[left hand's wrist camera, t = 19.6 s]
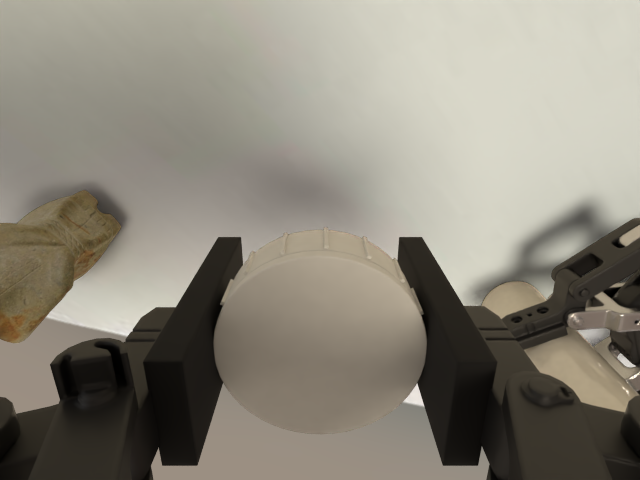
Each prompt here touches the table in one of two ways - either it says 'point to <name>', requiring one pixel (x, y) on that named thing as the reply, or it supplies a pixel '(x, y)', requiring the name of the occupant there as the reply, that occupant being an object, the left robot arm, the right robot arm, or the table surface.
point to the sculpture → (48, 259)
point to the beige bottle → (565, 353)
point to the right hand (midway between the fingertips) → (509, 371)
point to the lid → (320, 333)
